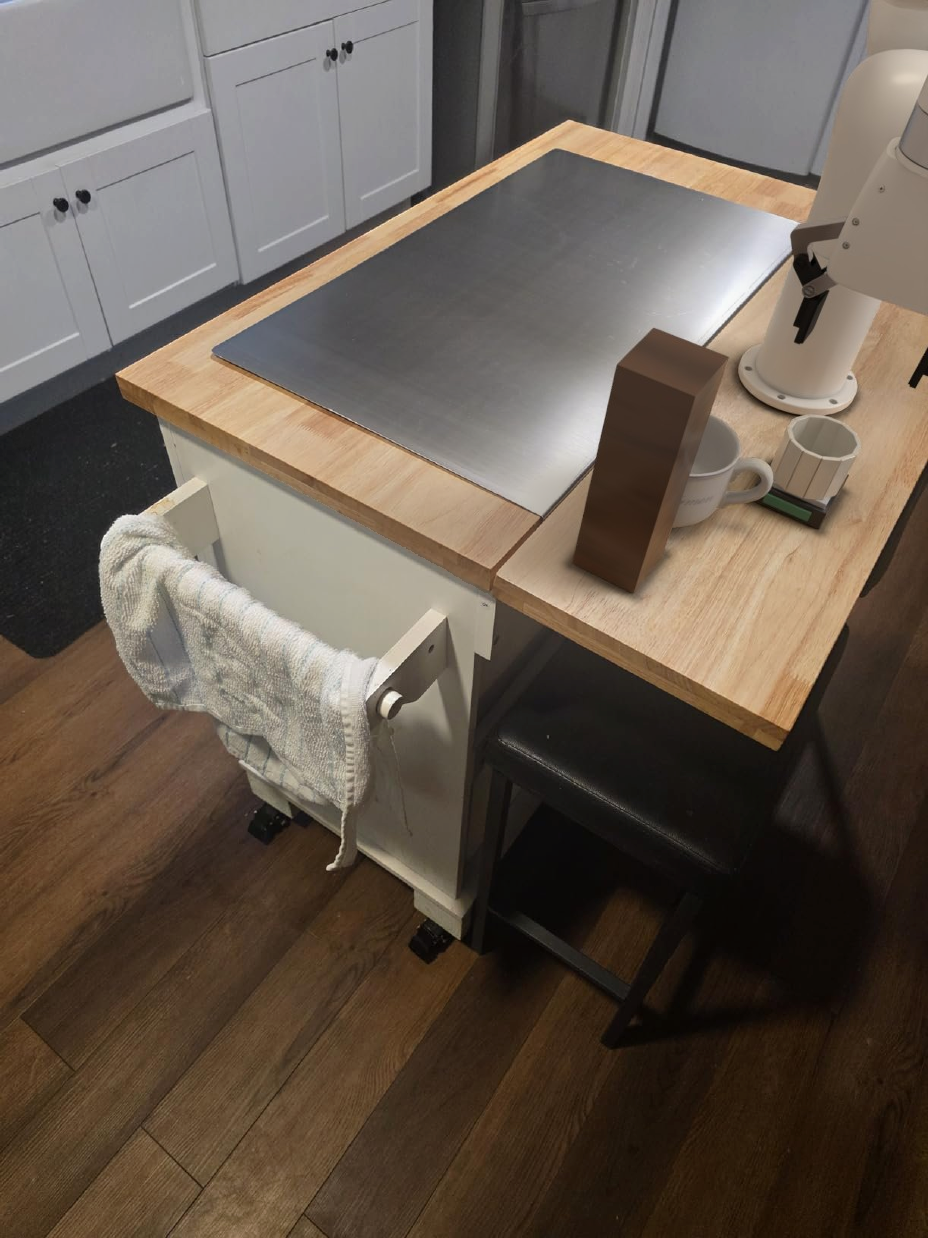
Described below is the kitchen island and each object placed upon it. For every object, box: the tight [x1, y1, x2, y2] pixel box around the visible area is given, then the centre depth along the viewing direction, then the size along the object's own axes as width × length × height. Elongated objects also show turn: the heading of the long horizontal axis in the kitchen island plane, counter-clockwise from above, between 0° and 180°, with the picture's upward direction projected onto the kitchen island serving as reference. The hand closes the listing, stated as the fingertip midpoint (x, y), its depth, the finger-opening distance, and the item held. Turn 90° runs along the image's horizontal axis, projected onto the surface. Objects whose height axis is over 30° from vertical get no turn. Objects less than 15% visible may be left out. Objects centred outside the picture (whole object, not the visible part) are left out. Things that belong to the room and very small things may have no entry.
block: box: [571, 327, 730, 594], centre depth 69 cm, size 6×6×20 cm
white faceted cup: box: [770, 414, 863, 500], centre depth 79 cm, size 6×6×5 cm
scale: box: [754, 459, 850, 530], centre depth 82 cm, size 7×7×3 cm
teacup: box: [672, 413, 773, 529], centre depth 78 cm, size 14×11×8 cm
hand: (858, 357), depth 72 cm, fingers open, 9 cm apart
